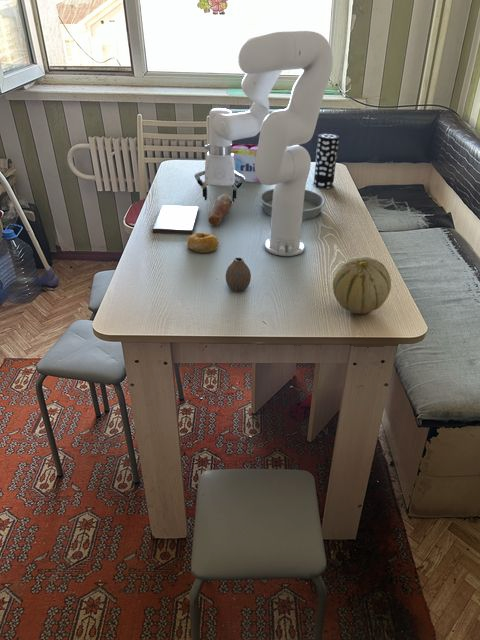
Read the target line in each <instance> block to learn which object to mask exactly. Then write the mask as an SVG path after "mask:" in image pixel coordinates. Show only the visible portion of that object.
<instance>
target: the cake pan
mask: <svg viewBox="0 0 480 640" xmlns="http://www.w3.org/2000/svg"><path fill="white" fill-rule="evenodd" d="M273 191H274V188H271V189H268V190H265V191H263V192H262V193H261V194H260V195H259V198H258V199H259V201H260V202H261V203H262V208H263V211H264V212H265V213H266V214H267V215H269V216H271V217H272V201H273ZM325 205H326V198H325V197H324V196H323V195H321V194H319V193H318V192H315V191H313V190H309V189H305V194H304V203H303V214H302V221H305V220H310V219H314V218H316V217H317V216H319V215H320V213H321V210H322V208H323V207H324V206H325Z"/></svg>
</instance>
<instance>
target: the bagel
mask: <svg viewBox="0 0 480 640" xmlns="http://www.w3.org/2000/svg"><path fill="white" fill-rule="evenodd" d="M186 243H187V248H188V249H189V250H190V251H194V252H196V253H200V254H207V253H211V252H214V251H216V250H217V248H218V246H219V240H218V237H217V236H215V235H214V234H212V233H208V232H195V233H192V234H189V236H188V238H187V241H186Z"/></svg>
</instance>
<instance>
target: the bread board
mask: <svg viewBox="0 0 480 640" xmlns="http://www.w3.org/2000/svg"><path fill="white" fill-rule="evenodd" d="M198 214H199V206H187V205H185V206H183V205H164V204H163V205H162V206H161V208H160V211H159V213H158V215H157V217H156V219H155V222H154V224H153V227H152V233H153V234H172V235H173V234H174V235H175V234H176V235H193V234H194V233H193V232H194V228H195V225H196V221H197V218H198Z"/></svg>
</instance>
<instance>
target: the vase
mask: <svg viewBox="0 0 480 640" xmlns="http://www.w3.org/2000/svg"><path fill="white" fill-rule="evenodd" d="M251 281H252V273H251V270H250V268H249V266H248V265H247V263H246V262H245V261H244V258H243V257H235V258H234V259H233V261H232V262H231V263H230V264H229V265H228V267H227V269H226V271H225V282H226V285H227V287H228V288H229V289H230V290H231V291H232V292H237V293H238V292H239V293H240V292H243V291H245V290H246V289H248V287H249V285H250V284H251Z"/></svg>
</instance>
